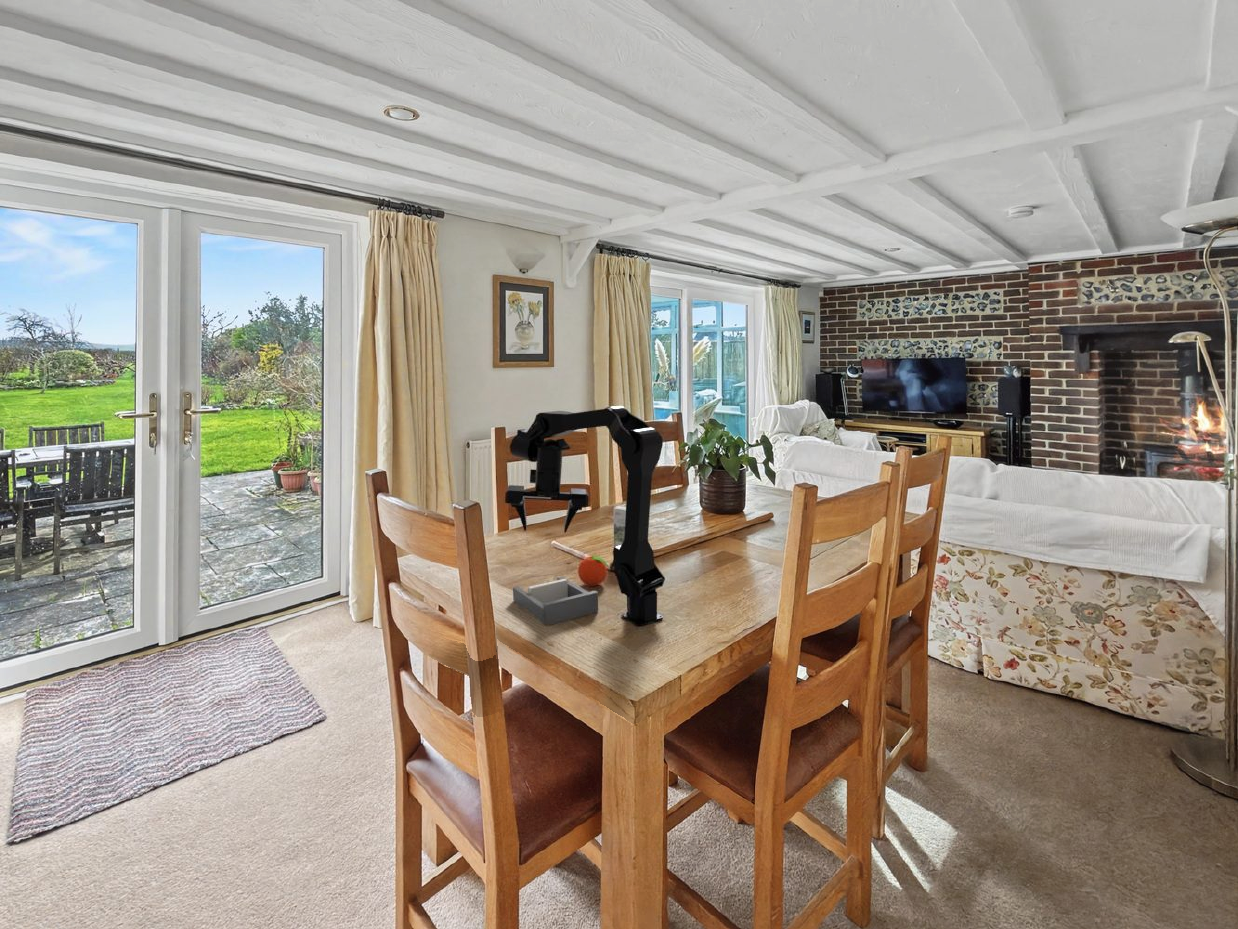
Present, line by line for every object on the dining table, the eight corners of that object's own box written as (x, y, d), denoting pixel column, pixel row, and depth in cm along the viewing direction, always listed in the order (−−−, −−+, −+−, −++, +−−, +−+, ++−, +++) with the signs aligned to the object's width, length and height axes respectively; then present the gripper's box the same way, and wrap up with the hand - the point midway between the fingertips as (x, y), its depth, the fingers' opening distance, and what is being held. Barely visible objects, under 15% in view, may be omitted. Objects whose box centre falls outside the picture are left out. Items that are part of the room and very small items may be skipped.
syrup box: (642, 557, 170) (642, 505, 168) (631, 563, 165) (630, 509, 163) (624, 553, 173) (624, 502, 171) (613, 559, 168) (612, 507, 166)
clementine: (615, 583, 151) (615, 554, 150) (603, 592, 145) (602, 563, 144) (586, 578, 154) (586, 550, 153) (573, 587, 148) (572, 558, 147)
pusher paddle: (567, 597, 142) (567, 580, 141) (530, 606, 136) (530, 588, 136) (565, 595, 143) (564, 578, 142) (528, 604, 137) (527, 587, 137)
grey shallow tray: (598, 611, 134) (597, 592, 133) (546, 625, 127) (545, 605, 126) (562, 589, 147) (561, 571, 146) (513, 600, 140) (512, 582, 139)
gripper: (588, 460, 151) (583, 521, 154) (509, 455, 149) (507, 518, 152) (590, 472, 140) (585, 537, 144) (506, 467, 138) (503, 534, 141)
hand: (545, 531), depth 146 cm, fingers open, 9 cm apart
